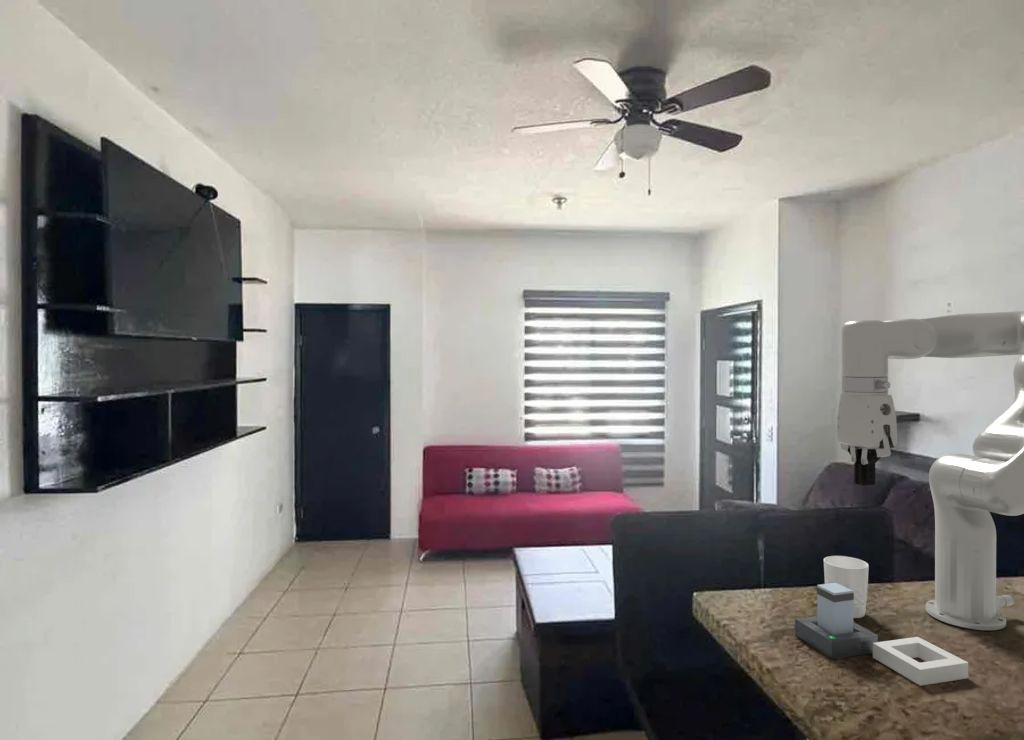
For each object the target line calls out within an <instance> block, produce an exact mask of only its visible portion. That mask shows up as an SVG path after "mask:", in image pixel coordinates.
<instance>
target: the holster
mask: <svg viewBox="0 0 1024 740" xmlns="http://www.w3.org/2000/svg"><path fill="white" fill-rule="evenodd" d="M872 658H873V659H875V660H876V661H878V662H879V663H881V664H883V665H885V666H887V667H888V668H890V669H892V670H893V671H895V672H896V673H898V674H900V675H901V676H903V677H905V678H906V679H908V680H909V681H911V682H913V683H914V684H916V685H918V686H929V685H933V684H939V683H941V684H942V683H946V682H953V681H958V680H959V681H960V680H966V679H969V662H968V661H966V660H965V659H963V658H960V657H959V656H957V655H955V654H953V653H951V652H949V651H946V650H945V649H942V647H941V648H940V647H938V646H937V645H935V644H932V643H931V642H929V641H926V640H925V639H923V638H921V637H919V636H913V637H906V638H905V637H904V638H899V639H893V640H884V641H878V642H876V643H873V653H872ZM915 658H919V659H920V660H923V662H919V661H917V660H916V659H915Z"/></svg>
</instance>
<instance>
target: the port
mask: <svg viewBox="0 0 1024 740" xmlns="http://www.w3.org/2000/svg"><path fill="white" fill-rule="evenodd" d="M794 622H795V623H794V632H795V633H794V635H795V636H796V637H798V638H799V639H801V640H803V641H804V642H806V643H807V644H808V645H810V646H811V647H813V648H814V649H816V650H818V651H820V652H821V653H822V654H824V655H826V656H827V657H828V658H830V659H831V660H833V659H834V660H835V659H839V658H840V659H841V658H847V657H854V656H861V655H867V654H868V655H869V654H873V643H876V642H879V641H878V640H879V639H878V636H879V635H878V634H876V633H875V632H872V630H869V629H867V628H865V627H864V626H862V625H860V624H858V623H856V622H855V621H853V633H847V634H840V635H832V634H830V633H828V632H827V631H825V630H823V629H822V628H820V627H818V626H817V615H814V616H813V615H812V616H806V617H799V618H794Z"/></svg>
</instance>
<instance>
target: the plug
mask: <svg viewBox="0 0 1024 740" xmlns="http://www.w3.org/2000/svg"><path fill="white" fill-rule="evenodd" d="M816 597H817V598H816V599H817V601H816V605H817V609H816V612H817V615H816V616H817V626H818V627H820V628H822V629H823V630H825V631H827V632H828V633H830V634H832V635H840V634H847V633H853V622H854V618H853V600H854V593H853V590H851V589H848V588H846V587H844V586H842V585H840V584H838V583H829V584H825V583H822V584H817V585H816Z"/></svg>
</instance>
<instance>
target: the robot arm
mask: <svg viewBox="0 0 1024 740" xmlns="http://www.w3.org/2000/svg"><path fill="white" fill-rule="evenodd" d="M1019 355H1021V356H1020V357H1019V358H1018V359H1017V361H1016V362H1015V364H1014V367H1013V374H1012V375H1013V383H1014V399H1013V402H1012V403H1011V404H1010V406H1008V408H1007V409H1005V411H1003V412H1002V413H1001V414H1000V415H999V416H998V417H997V418H995V419H994V420H993V421H992V422H991V423H990V424H988V425H987V426H986V427H985V428H984V429H983V430H982V431H980V433H978V435H977V436H976V438H975V439H974V441H973V443H972V452H973V454H974V455H970V454H962V453H961V454H960V453H950V454H946V455H942V456H940V457H939V458H937V459H935V461H933V463H932V464H931V466H930V468H929V473H928V484H929V488H930V492H931V496H932V501H933V509H934V522H935V523H934V532H935V533H934V546H935V547H934V563H935V564H934V599H930V600H928V601H927V602H926V603H925V611H926V613H927V614H929V615H930V616H931V617H933V618H934V619H937V620H938V621H941V622H943V623H946V624H949V625H952V626H955V627H958V628H959V627H960V628H963V629H969V630H975V631H998V630H1002V629H1004V628H1006V626H1007V618H1006V617H1005V615H1004V614H1003V613H1001V612H1000V609H1001V608H1002V607H1009V606H1013V605H1014V604H1015V600H1014V598H1013V597H1012V596H1011V595H1009V594H1005V595H997V529H996V525H995V521H994V519H993V517H992V514H991V513H993V514H994V513H995V514H997V515H998V514H999V515H1004V516H1010V517H1012V516H1013V517H1014V516H1015V517H1017V516H1020V515H1024V310H1022V311H1020V310H1019V311H1002V312H981V313H980V312H979V313H977V312H974V313H960V314H950V315H949V314H948V315H942V316H936V317H930V318H929V317H927V318H900V319H897V318H896V319H886V320H878V319H877V320H876V319H868V320H865V319H864V320H863V319H861V320H851V321H847V322H845V323H844V324H843V325H842V327H841V393H840V395H839V399H838V400H839V401H838V405H837V406H838V408H837V417H836V418H837V419H836V420H837V421H836V430H837V431H836V433H837V440H838V442H839V443H840V448H841V449H842V450H843V451H846V452H848V453H849V455H850V460H851V462H852V463H853V464H854V465H853V470H854V471H853V473H854V474H853V483H854V484H855V485H859V486H863V487H865V486H874V485H875V484H876V465H878V463H879V460H880V459H881V458H885V457H886V458H887V457H890V456H891V454H892V453H891V449H894V448H896V447H897V446H898V424H897V423H898V422H897V414H896V408H895V404H894V399H893V396H892V394H889V389H890V387H891V383H890V382H889V360H915V359H920V358H941V359H964V358H965V359H967V358H970V359H971V358H983V357H999V356H1001V357H1003V356H1004V357H1005V356H1019Z"/></svg>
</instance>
